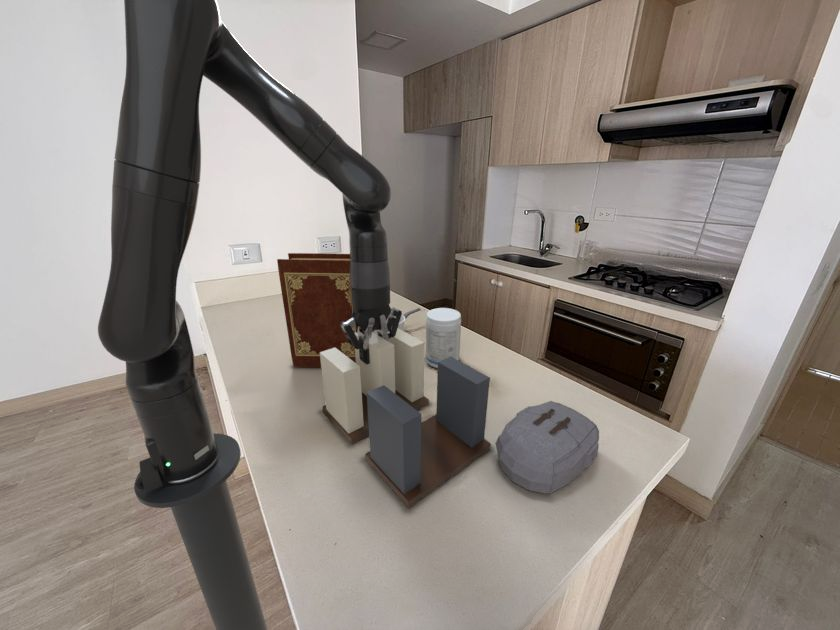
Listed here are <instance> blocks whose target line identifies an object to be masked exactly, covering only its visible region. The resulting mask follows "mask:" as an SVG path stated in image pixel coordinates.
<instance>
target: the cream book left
mask: <svg viewBox="0 0 840 630" xmlns="http://www.w3.org/2000/svg"><path fill="white" fill-rule="evenodd" d="M320 360H321V368H320V369H321V376H322V386H323V395H324V403H325V405H326V409H327V411H328V412H329V413H330V414H331V415H332V416H333V417H334V418H335V419H336V420H337V422H338V423H339V424H340V425H341V426H342V427H343V428H344V429H345V430H346V431H347V432H348V434H349V433H351V432H353V431H355V430H357V429H359V428H361V427H363V426H364V421H363V406H362V392H361V377H360V366H359V365H357V364H356V363H355V362H353V361H352V360H351V359H350V358H348V357H347V356H346V355H344V354H343V353H342V352H341V351H339V350H338V349H337V348H332V349H329V350H325V351H322V352H320Z"/></svg>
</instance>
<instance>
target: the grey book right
mask: <svg viewBox="0 0 840 630" xmlns="http://www.w3.org/2000/svg"><path fill="white" fill-rule="evenodd" d="M436 378H437V379H436V410H435V412H436V413H435V415H436V421H437V422H439V423H440V424H441V425H443V426H444V427H445V428H447V429H448V430H449V431H451V432H452V433H453V434H454V435H456V436H457V437H458V438H460V439H461V440H462V441H464V442H465V443H466V444H468V445H469V446H470V447H474V446H475V445H477V444H478V443H479V442H481V441H482V440H484V439H485V434H486V433H485V432H486V422H487V415H488V414H487V413H488V404H489V403H488V402H489V393H490V382H491V377H490V376H489V375H486V374H485V373H482V372H480V371H479V370H477V369H476V368H473V367H471V366H469V365H468V364H466V363H464V362H463V361H460V360H459V361H458V360H456V359H455V358H453V357H448V358H446V359H444V360H441V361H439V362H438V368H437V377H436Z"/></svg>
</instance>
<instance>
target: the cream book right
mask: <svg viewBox="0 0 840 630" xmlns="http://www.w3.org/2000/svg"><path fill="white" fill-rule="evenodd" d="M388 342H390V343H392V344H393V345H394V357H395V390H397V391H398V392H399V393H400V394H402V395H403V396H404V397H406V398H407V399H408V400H410V401H411V402H414V401H416V400H418V399H420V398H422V397H424V396H425V342H424V341H423V340H420V339H419V338H417V337H415V336H413V335H411V334H410V333H408V332H406V331H405V330H404V331H402V330H400V329H398V328H397V332H396V335H395V337H391V338H390V339H389V341H388Z"/></svg>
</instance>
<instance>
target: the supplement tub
mask: <svg viewBox="0 0 840 630" xmlns="http://www.w3.org/2000/svg"><path fill="white" fill-rule="evenodd" d="M461 330H462V315H461V312H460V311H458V310H457V309H453V308H449V307H437V308H433V309H430V310H428V311H427V312H426V316H425V362H426V364H427V365H429V366H430V367H432V368H435V369H438V362H439V361H441V360H444V359H446V358H448V357H453V358H455V359H456V360H458V361H460V351H461V334H462V333H461V332H462V331H461Z"/></svg>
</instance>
